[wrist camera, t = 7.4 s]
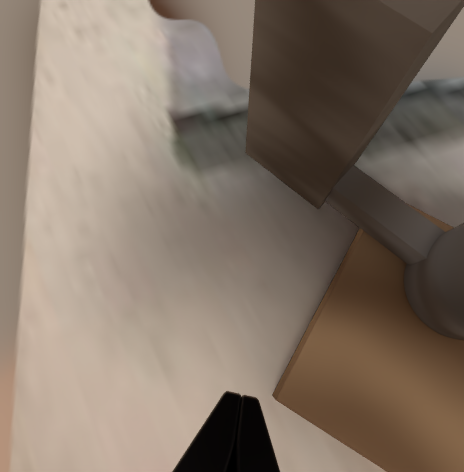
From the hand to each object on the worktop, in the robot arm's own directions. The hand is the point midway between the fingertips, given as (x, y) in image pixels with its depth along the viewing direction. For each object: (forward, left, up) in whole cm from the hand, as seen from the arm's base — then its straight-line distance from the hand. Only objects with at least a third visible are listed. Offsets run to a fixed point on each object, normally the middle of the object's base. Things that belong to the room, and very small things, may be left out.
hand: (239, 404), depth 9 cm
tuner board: (+6, -9, -9) cm, 14 cm away
